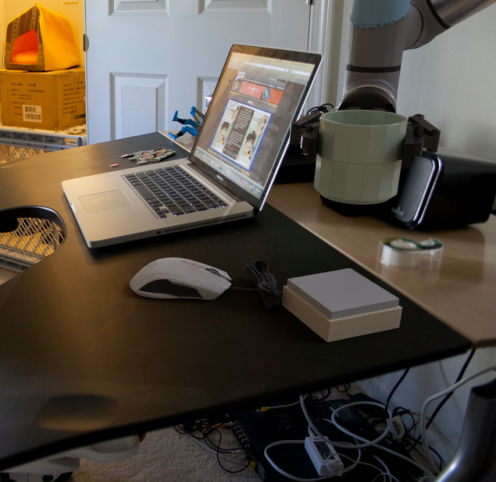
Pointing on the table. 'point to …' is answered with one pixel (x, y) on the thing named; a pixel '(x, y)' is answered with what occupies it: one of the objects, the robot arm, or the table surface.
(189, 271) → the computer mouse
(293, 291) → the scale
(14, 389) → the table surface
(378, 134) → the pale green cup
